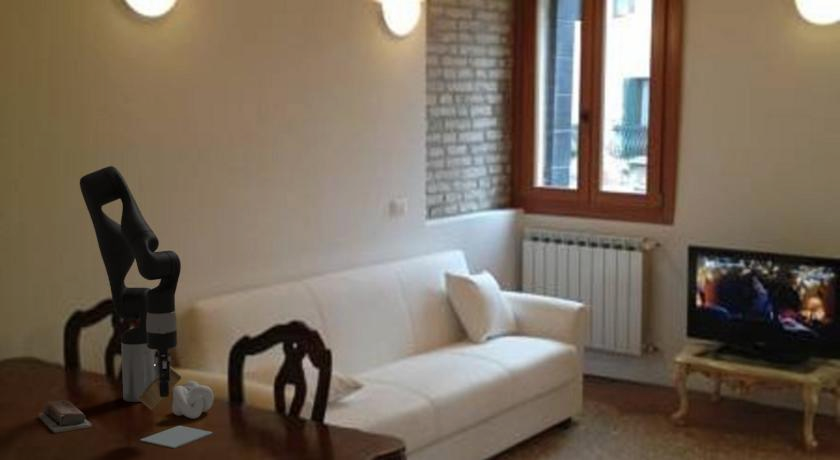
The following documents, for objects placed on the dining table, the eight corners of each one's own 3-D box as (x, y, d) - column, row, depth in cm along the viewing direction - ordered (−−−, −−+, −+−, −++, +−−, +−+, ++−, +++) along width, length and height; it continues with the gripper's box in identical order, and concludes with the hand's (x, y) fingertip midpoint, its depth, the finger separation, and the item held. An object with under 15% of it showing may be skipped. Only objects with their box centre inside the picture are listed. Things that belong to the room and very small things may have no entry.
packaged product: (37, 401, 282) (73, 396, 287) (37, 418, 282) (74, 413, 288) (53, 417, 267) (91, 411, 273) (54, 435, 268) (92, 428, 273)
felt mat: (179, 426, 272) (179, 425, 272) (212, 433, 266) (212, 432, 266) (140, 441, 260) (140, 439, 260) (174, 448, 254) (174, 446, 254)
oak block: (138, 396, 261) (168, 364, 263) (150, 406, 263) (180, 374, 264) (139, 400, 258) (170, 368, 259) (151, 410, 259) (181, 377, 260)
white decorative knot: (159, 415, 283) (158, 384, 283) (195, 406, 292) (194, 376, 291) (182, 423, 276) (181, 391, 275) (219, 414, 285) (218, 382, 284)
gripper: (144, 324, 265) (146, 388, 267) (148, 335, 252) (150, 402, 253) (174, 322, 268) (176, 386, 269) (179, 333, 254) (181, 400, 256)
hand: (163, 393), depth 261 cm, fingers closed on oak block, 4 cm apart
